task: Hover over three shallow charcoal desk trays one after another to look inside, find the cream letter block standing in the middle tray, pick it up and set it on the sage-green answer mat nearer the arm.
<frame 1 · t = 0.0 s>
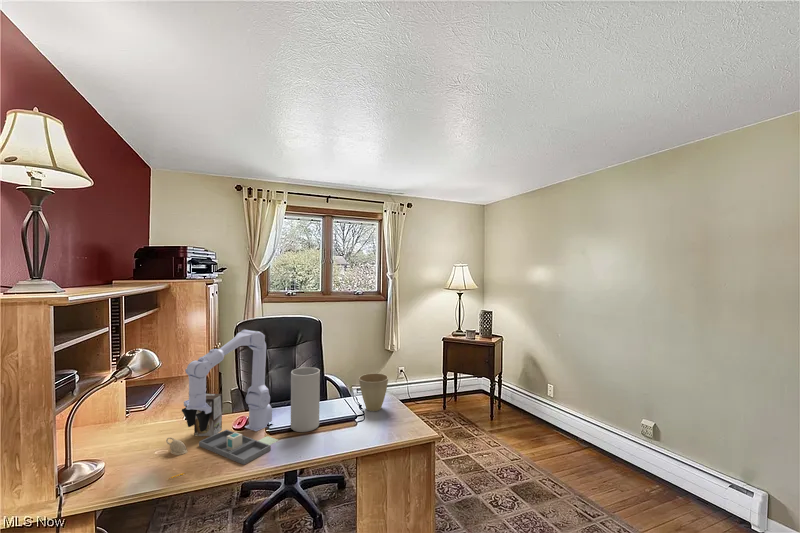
hand: (197, 428, 140), 10 cm above the table, tool pointing down, fingers open, 7 cm apart
answer mat: (266, 442, 150), on the table
coffee box: (208, 433, 157), on the table
letter block: (234, 447, 144), resting on tray b
tray b: (234, 448, 144), on the table
pencil: (197, 471, 130), on the table
decorative ornament: (177, 453, 141), on the table
plant pot: (373, 409, 186), on the table
tray a: (219, 443, 149), on the table
tray c: (249, 455, 140), on the table
cylinder vase: (305, 427, 165), on the table
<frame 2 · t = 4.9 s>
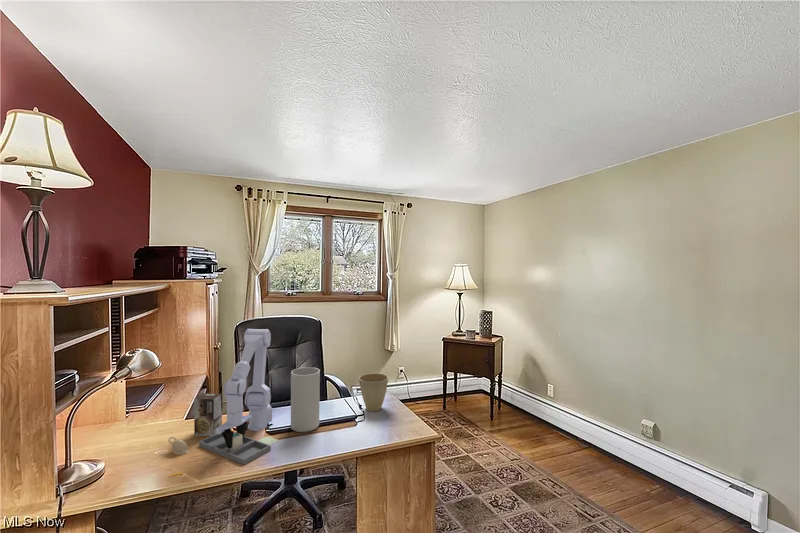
hand: (234, 444, 144), 2 cm above the table, tool pointing down, fingers closed on letter block, 4 cm apart
letter block: (234, 447, 144), resting on tray b, touching gripper
when the fingers open (3 cm above the table, at t = 8.1 s): letter block drops 1 cm, resting on answer mat.
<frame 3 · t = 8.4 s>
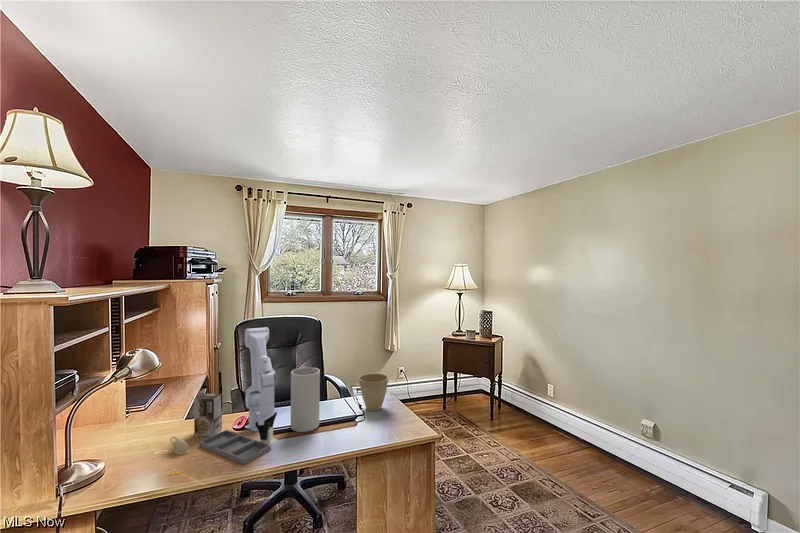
hand: (266, 435, 150), 3 cm above the table, tool pointing down, fingers open, 6 cm apart
letter block: (266, 441, 150), resting on answer mat
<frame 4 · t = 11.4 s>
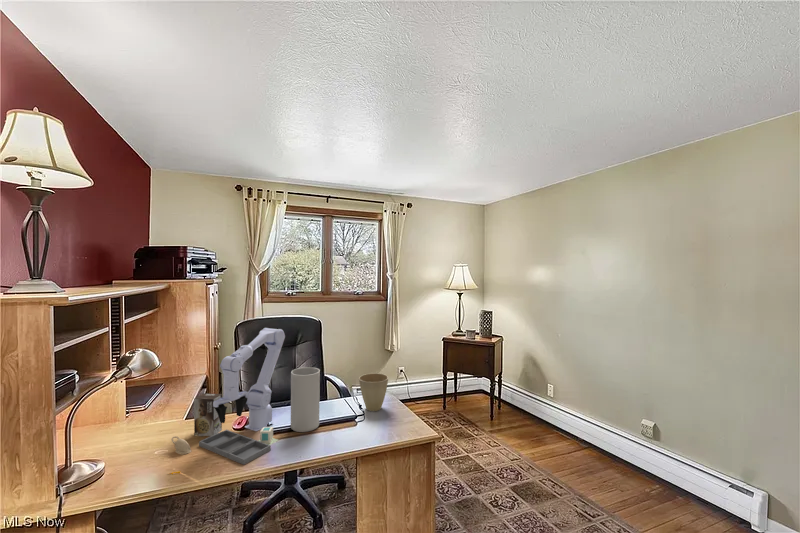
hand: (230, 418, 150), 9 cm above the table, tool pointing down, fingers open, 7 cm apart
at the end: letter block inside the target area on the answer mat (0.1 cm from its centre), point 0.4 cm above the answer mat's base; letter block tilted 0°; the gripper is holding nothing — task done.
